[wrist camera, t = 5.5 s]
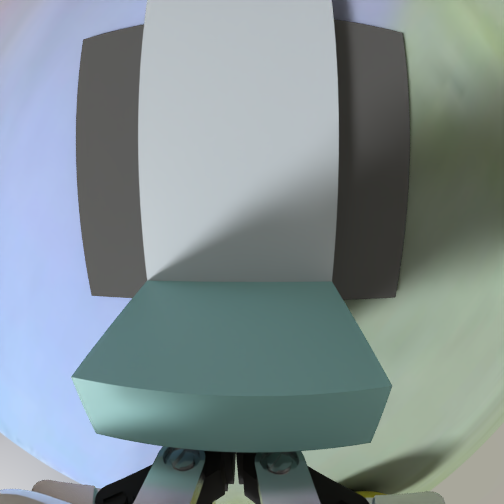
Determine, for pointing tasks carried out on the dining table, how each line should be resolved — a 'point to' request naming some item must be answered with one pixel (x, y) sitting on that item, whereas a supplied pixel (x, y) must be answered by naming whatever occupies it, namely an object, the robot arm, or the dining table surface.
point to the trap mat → (349, 172)
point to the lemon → (369, 494)
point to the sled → (237, 243)
